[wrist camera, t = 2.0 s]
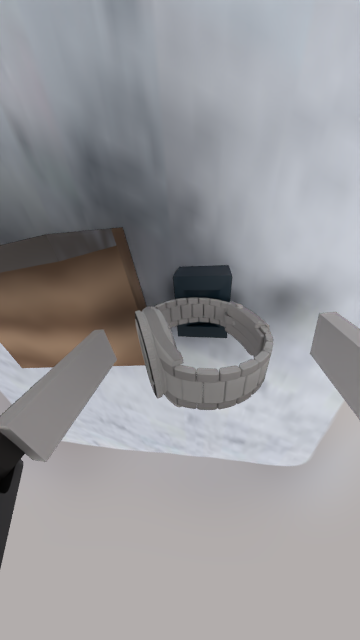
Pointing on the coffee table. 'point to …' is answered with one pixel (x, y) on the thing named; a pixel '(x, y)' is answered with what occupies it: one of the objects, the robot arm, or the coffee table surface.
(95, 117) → the coffee table surface
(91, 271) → the display stand
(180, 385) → the watch
